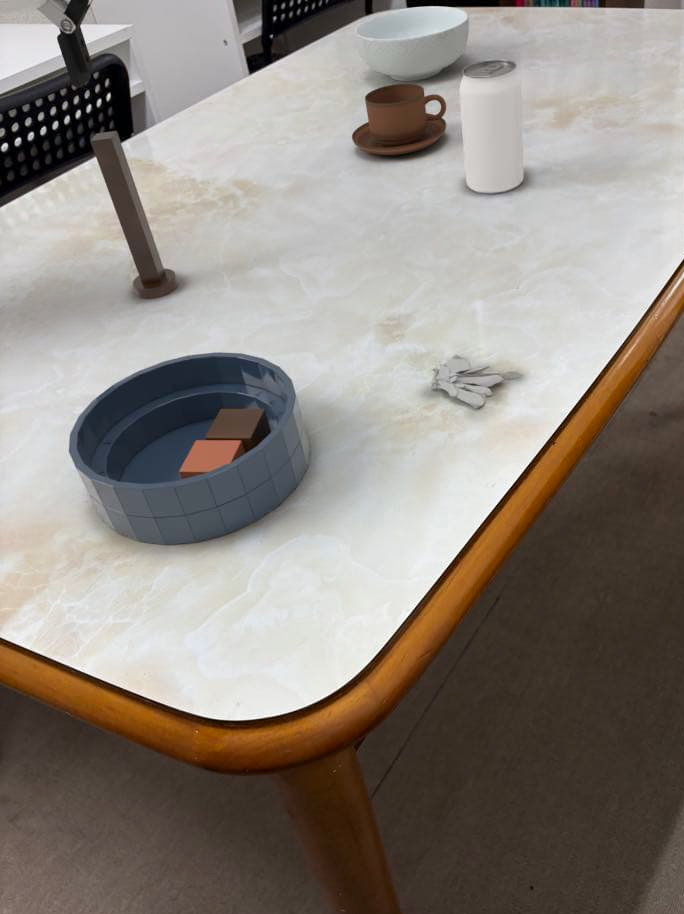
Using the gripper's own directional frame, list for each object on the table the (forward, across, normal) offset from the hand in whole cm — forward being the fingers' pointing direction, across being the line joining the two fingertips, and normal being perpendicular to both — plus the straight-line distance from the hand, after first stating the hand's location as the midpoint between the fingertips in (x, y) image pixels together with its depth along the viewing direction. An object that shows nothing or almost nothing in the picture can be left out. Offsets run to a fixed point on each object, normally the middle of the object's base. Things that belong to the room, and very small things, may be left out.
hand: (28, 88), depth 74 cm
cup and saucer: (+19, -30, -34) cm, 49 cm away
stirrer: (+20, -5, -2) cm, 21 cm away
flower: (+19, -37, +22) cm, 47 cm away
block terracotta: (+19, -18, +33) cm, 42 cm away
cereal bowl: (+19, -32, -64) cm, 74 cm away
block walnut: (+19, -19, +29) cm, 40 cm away
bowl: (+20, -16, +30) cm, 39 cm away
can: (+19, -41, -18) cm, 49 cm away
